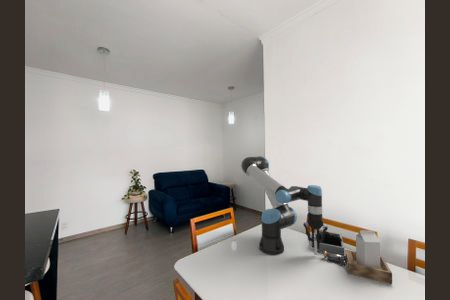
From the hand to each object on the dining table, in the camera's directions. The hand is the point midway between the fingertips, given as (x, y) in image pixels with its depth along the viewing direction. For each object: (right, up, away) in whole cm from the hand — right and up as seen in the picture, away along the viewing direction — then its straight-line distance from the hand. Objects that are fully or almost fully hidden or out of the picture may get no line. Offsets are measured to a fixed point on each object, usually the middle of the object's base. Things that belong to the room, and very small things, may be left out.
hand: (315, 253), depth 108 cm
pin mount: (+9, -2, -5) cm, 10 cm away
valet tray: (+14, -2, +12) cm, 18 cm away
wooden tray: (+20, -1, -13) cm, 24 cm away
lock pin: (+8, -1, -4) cm, 9 cm away
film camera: (+13, -1, +12) cm, 18 cm away
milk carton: (+20, -1, -13) cm, 24 cm away
